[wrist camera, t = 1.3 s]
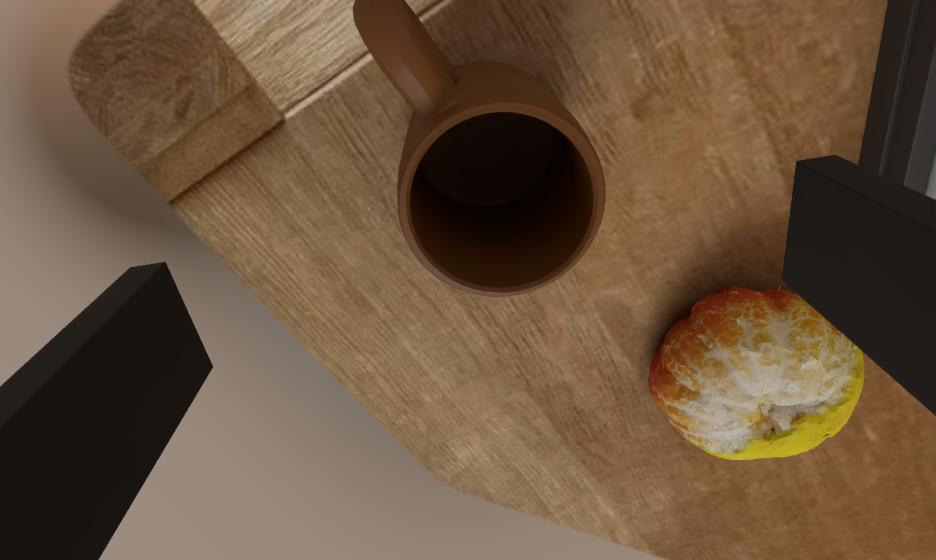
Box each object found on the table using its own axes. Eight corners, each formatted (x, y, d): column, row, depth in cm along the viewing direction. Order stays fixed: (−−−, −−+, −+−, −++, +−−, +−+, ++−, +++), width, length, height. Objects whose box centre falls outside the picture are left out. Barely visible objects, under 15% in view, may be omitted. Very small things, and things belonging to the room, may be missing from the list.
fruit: (828, 241, 31) (933, 356, 25) (796, 351, 38) (872, 459, 33) (628, 295, 32) (687, 419, 26) (634, 393, 39) (681, 506, 34)
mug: (316, 37, 26) (255, 66, 17) (454, -73, 24) (461, -98, 15) (464, 237, 30) (472, 334, 22) (588, 159, 29) (647, 233, 20)
